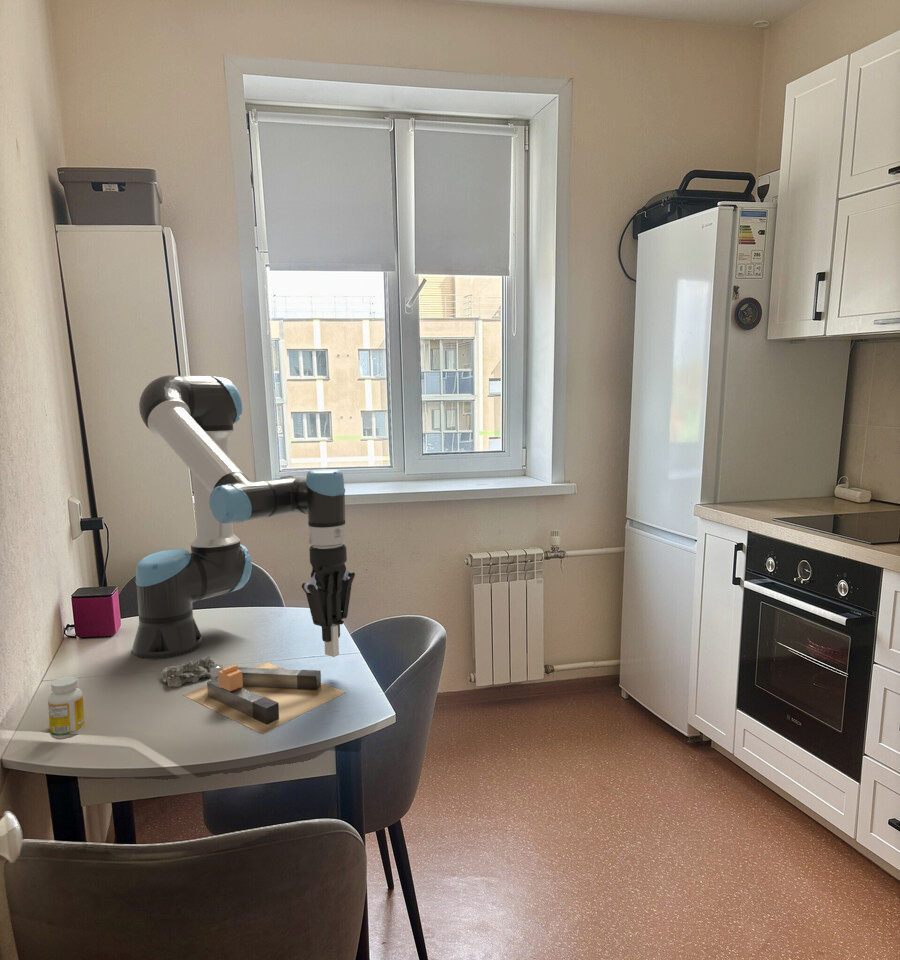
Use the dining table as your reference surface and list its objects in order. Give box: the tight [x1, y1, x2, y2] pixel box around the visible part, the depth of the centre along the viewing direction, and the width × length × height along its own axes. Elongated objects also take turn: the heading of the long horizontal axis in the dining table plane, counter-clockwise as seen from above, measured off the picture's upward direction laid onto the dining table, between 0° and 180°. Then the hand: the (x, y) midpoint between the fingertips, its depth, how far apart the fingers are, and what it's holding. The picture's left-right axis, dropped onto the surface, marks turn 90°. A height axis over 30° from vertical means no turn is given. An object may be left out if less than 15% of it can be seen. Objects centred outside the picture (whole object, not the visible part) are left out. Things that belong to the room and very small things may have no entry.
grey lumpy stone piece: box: [160, 655, 218, 688], centre depth 136 cm, size 11×8×4 cm
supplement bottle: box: [47, 676, 85, 740], centre depth 115 cm, size 5×5×10 cm
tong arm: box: [238, 666, 322, 690], centre depth 131 cm, size 18×3×3 cm, turn 83°
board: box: [182, 661, 346, 735], centre depth 128 cm, size 25×20×1 cm
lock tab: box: [218, 664, 243, 691], centre depth 123 cm, size 4×3×4 cm
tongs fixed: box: [206, 663, 279, 725], centre depth 123 cm, size 22×5×4 cm, turn 53°
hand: (331, 654), depth 136 cm, fingers closed
